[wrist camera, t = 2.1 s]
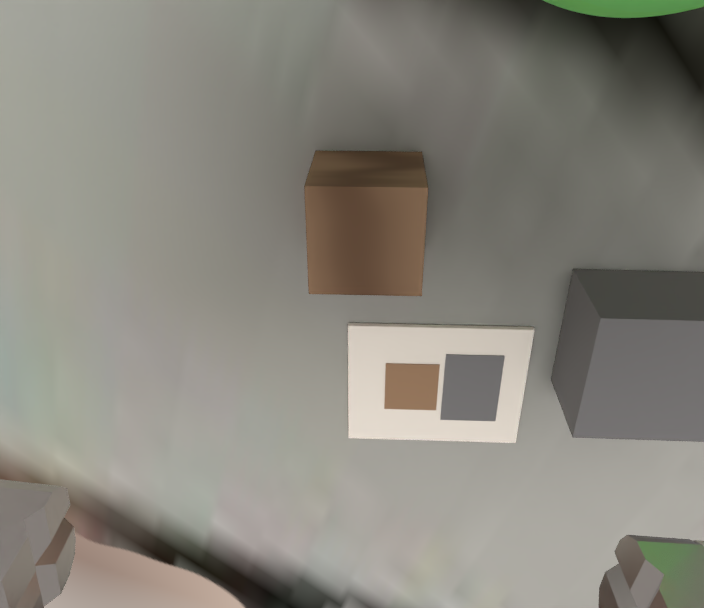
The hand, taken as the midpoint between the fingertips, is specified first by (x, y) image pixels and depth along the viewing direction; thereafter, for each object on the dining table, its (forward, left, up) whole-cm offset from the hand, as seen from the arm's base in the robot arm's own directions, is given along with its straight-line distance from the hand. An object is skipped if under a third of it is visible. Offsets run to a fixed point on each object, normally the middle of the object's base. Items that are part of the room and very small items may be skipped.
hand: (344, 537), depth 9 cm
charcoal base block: (-14, +11, -23) cm, 29 cm away
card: (-4, +15, -23) cm, 28 cm away
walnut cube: (0, +4, -23) cm, 23 cm away
